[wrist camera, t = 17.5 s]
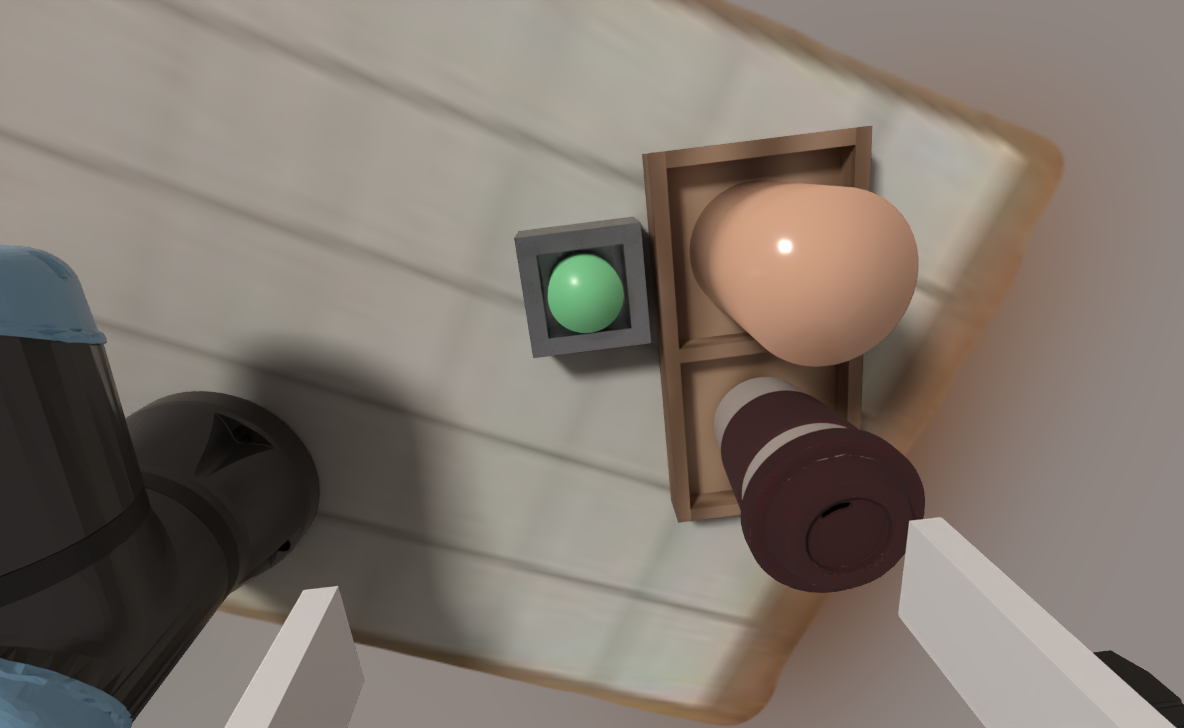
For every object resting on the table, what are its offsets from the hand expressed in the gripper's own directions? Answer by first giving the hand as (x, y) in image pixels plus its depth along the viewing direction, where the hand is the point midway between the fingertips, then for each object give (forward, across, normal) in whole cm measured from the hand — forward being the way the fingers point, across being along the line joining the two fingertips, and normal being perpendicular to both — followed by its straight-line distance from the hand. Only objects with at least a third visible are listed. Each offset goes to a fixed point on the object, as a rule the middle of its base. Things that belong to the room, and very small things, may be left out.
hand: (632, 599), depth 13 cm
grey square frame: (+30, +1, +2) cm, 30 cm away
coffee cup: (+29, +13, -10) cm, 33 cm away
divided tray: (+30, +13, -4) cm, 33 cm away
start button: (+28, +1, +2) cm, 28 cm away
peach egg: (+29, +13, +3) cm, 32 cm away
